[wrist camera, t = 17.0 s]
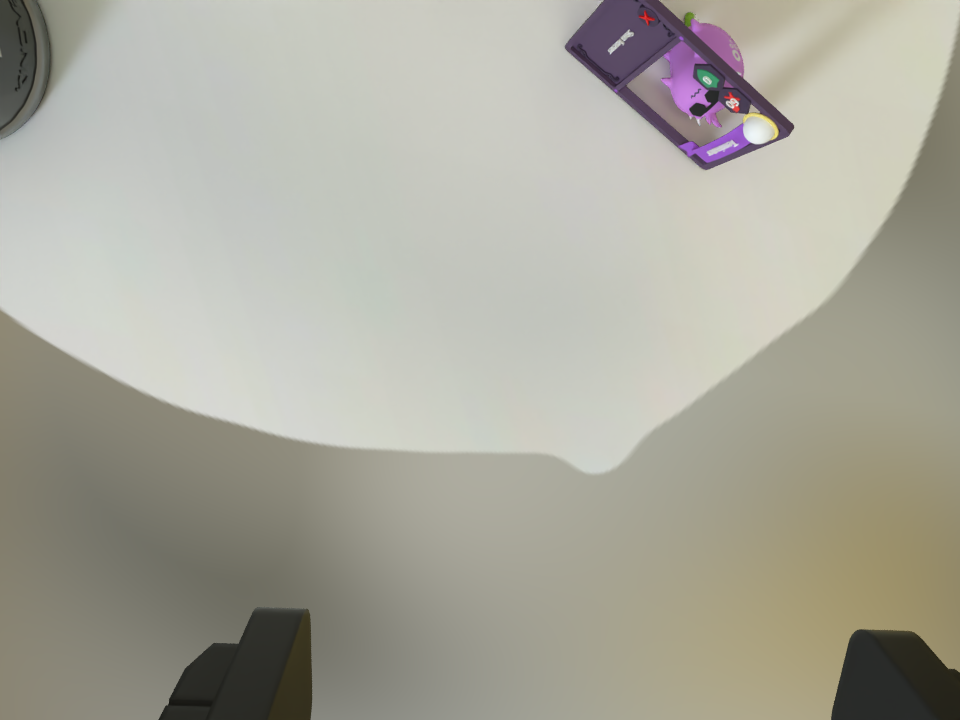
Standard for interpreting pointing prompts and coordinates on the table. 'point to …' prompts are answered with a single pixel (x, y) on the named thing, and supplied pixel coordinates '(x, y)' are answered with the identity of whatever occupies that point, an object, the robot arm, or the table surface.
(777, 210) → the table surface
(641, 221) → the table surface
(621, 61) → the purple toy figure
